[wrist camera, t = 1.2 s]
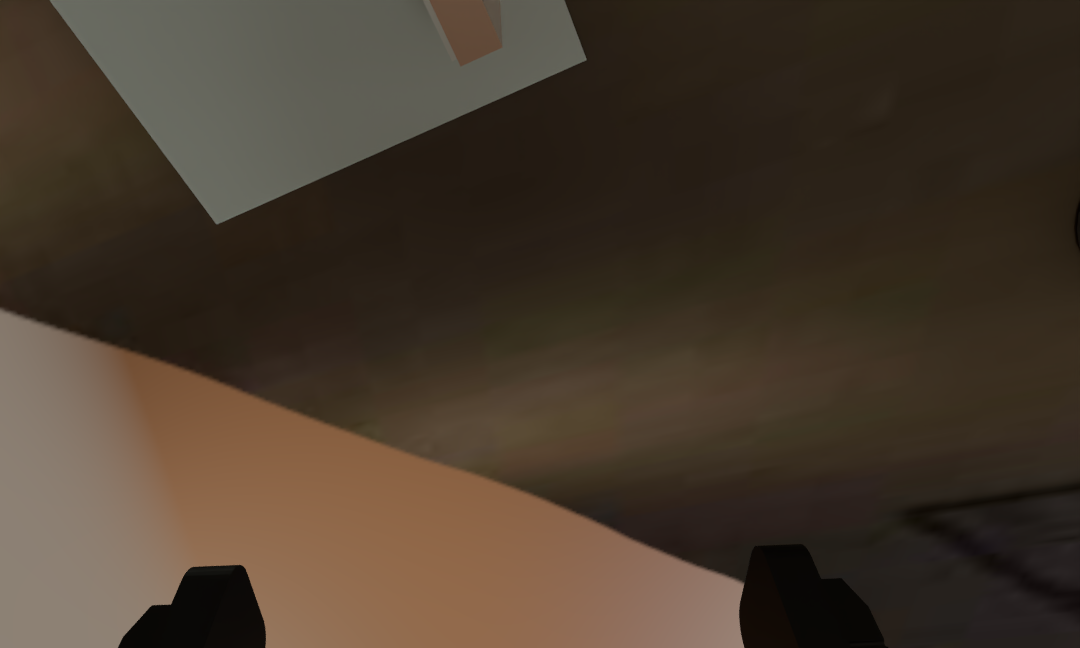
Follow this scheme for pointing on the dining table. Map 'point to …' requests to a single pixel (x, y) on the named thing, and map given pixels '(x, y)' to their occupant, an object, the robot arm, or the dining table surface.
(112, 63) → the mat
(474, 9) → the tile
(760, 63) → the dining table surface
